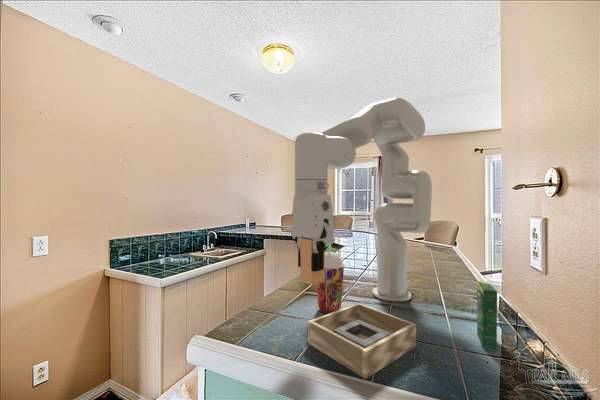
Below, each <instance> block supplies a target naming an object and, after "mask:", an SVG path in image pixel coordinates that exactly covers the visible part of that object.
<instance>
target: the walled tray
mask: <svg viewBox="0 0 600 400" xmlns="http://www.w3.org/2000/svg"><path fill="white" fill-rule="evenodd" d="M307 344H308V345H311V346H312V347H314V348H315V349H317V350H318V351H320V352H321V353H323V354H325V356H327V357H329V358H331V359H333V360H334V361H335V362H337V363H339V364H341V365H342V366H344V367H345V368H346V369H348V370H350V371H351V372H353V373H355V374H357V375H358V376H360V377H361V378H363V379H364V380H367V379H368V378H370V377H371V376H373V375H374V374H375V373H378V372H379V371H381V370H382V369H383V368H385V367H387V366H388V365H390V364H391V363H393V362H395V361H396V360H397V359H399V358H401V357H402V356H403V355H406V354H407V353H408V352H410V351H412V350H413V349H414V348H416V347H417V324H416V323H414V322H411V321H409V320H406V319H403V318H401V317H397V316H395V315H393V314H389V313H387V312H384V311H381V310H379V309H376V308H374V307H371V306H368V305H365V304H362V303H360V302H357V303H354V304H353V305H349V306H347V307H344V308H340V309H339V310H338V311H335V312H332V313H329V314H324V315H321V316H319V317H316V318H313V319H310V320H308V321H307Z"/></svg>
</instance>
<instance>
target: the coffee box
mask: <svg viewBox="0 0 600 400" xmlns="http://www.w3.org/2000/svg"><path fill="white" fill-rule="evenodd" d="M497 312H498V291H497V290H496V288H494V286H493V285H492V284H491V283H490V282H487V281H479V280H478V281H476V334H477V337H478V339H479V343H480V346H481V347H482V349H484V350H487V349H488V351H493V352H495V351H497V350H498V349H497V348H498V345H497V344H498V343H497V342H498V340H497V339H498V338H497V337H498V336H497V334H498V330H497V329H498V328H497V327H498V313H497Z"/></svg>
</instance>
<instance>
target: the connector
mask: <svg viewBox="0 0 600 400" xmlns="http://www.w3.org/2000/svg"><path fill="white" fill-rule="evenodd" d="M319 244H320V241H318V245H319ZM312 253H314V252H313V244H312V239H308V238H300V257H301V266H300V267H299V268H300V269H299V270H300V272H299V275H300V279H299V281H300V282H302V283H304V284H307V285H310V286H314V285H317V284H319V283H322V282H325V252H324V269H323V270H320V271H315V272H313V271H312V270H311V255H312Z"/></svg>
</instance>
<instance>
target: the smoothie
mask: <svg viewBox="0 0 600 400" xmlns="http://www.w3.org/2000/svg"><path fill="white" fill-rule="evenodd" d="M344 268H345V264H344V262H343V259H342V258H341V257H340V255H339V254H338V253H337V252H334V251H332V244H330V245H329V246H328V251H326V252H325V282H322V283H319V284H316V296H317V298H316V299H317V307H318V308H319V309H318V310H319V311H320V312H321V313H323V314H324V315H327V314H329V313H332V312H335V311H338V310H341V309H342V298H343V297H342V296H343V282H344Z"/></svg>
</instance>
